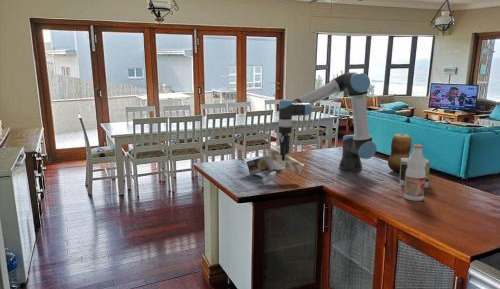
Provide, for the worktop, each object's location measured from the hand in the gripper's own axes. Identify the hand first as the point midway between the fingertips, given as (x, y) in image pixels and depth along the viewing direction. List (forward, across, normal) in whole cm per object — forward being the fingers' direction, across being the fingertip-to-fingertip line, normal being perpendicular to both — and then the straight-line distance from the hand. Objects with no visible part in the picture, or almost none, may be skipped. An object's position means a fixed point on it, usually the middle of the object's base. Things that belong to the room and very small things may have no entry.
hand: (284, 164), depth 227 cm
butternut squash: (+10, -47, +63) cm, 80 cm away
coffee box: (-1, -2, -9) cm, 9 cm away
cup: (+10, -26, -12) cm, 30 cm away
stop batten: (+10, 0, -10) cm, 14 cm away
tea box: (+10, -20, +72) cm, 75 cm away
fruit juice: (+10, +6, +72) cm, 73 cm away
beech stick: (0, 0, -1) cm, 1 cm away
